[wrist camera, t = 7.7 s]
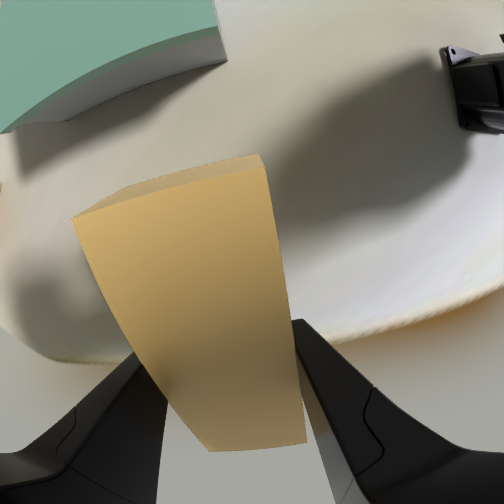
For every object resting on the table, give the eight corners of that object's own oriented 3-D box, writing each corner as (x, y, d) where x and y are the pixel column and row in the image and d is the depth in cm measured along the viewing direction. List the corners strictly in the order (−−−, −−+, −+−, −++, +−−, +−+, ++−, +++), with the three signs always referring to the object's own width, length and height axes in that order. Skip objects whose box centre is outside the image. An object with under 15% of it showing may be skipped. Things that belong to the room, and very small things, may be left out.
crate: (201, -50, 8) (188, -90, 4) (227, 61, 12) (219, 31, 8) (58, 11, 9) (18, -5, 4) (66, 120, 13) (16, 125, 9)
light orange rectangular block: (257, 153, 7) (264, 166, 4) (298, 387, 11) (307, 442, 9) (126, 186, 7) (71, 218, 5) (213, 398, 12) (209, 451, 9)
